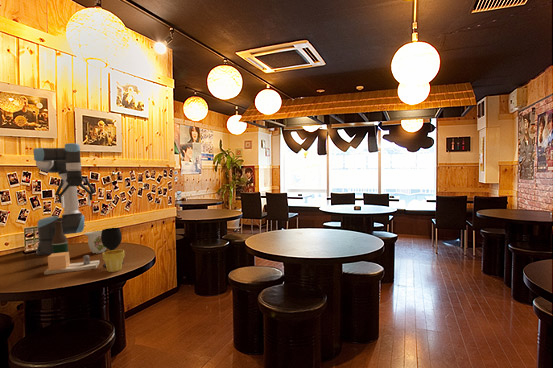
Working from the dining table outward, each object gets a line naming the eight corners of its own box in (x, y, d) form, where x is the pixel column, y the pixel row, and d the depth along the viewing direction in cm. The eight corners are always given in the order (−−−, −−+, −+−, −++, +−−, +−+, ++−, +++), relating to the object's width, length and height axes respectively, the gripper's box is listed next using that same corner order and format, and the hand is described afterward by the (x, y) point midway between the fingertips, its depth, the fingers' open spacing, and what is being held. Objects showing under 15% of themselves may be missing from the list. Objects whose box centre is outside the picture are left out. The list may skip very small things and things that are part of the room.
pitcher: (117, 250, 223) (116, 229, 222) (88, 256, 209) (86, 234, 209) (111, 247, 230) (109, 227, 229) (82, 253, 217) (80, 232, 216)
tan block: (53, 266, 184) (52, 253, 184) (69, 264, 187) (69, 251, 187) (48, 270, 177) (47, 257, 177) (66, 268, 180) (65, 255, 179)
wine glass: (127, 262, 192) (125, 227, 191) (113, 267, 182) (110, 231, 181) (113, 261, 195) (111, 227, 194) (98, 266, 186) (96, 230, 184)
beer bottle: (61, 262, 197) (58, 222, 195) (50, 262, 198) (46, 222, 197) (71, 259, 204) (69, 219, 203) (61, 258, 206) (58, 219, 204)
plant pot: (119, 265, 185) (118, 248, 185) (129, 269, 179) (127, 250, 178) (100, 270, 178) (99, 252, 177) (109, 274, 171) (107, 255, 170)
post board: (51, 268, 186) (50, 257, 185) (99, 262, 194) (99, 252, 193) (44, 274, 174) (43, 263, 174) (96, 268, 182) (95, 257, 182)
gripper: (46, 171, 187) (49, 209, 189) (96, 169, 195) (99, 205, 197) (50, 171, 194) (53, 207, 196) (99, 169, 202) (101, 204, 204)
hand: (76, 206), depth 196 cm, fingers open, 13 cm apart
